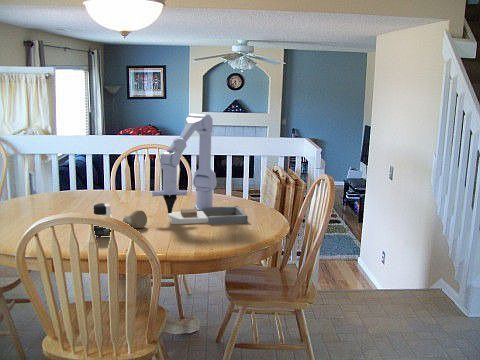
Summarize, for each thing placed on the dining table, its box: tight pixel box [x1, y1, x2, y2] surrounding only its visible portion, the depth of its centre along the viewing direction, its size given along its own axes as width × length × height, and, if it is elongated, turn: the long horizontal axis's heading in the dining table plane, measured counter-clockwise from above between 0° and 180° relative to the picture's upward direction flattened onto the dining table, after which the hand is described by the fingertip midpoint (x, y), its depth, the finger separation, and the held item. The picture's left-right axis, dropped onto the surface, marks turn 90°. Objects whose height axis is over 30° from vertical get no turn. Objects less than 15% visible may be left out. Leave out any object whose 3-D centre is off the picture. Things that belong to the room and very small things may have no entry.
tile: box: [180, 208, 198, 217], centre depth 216 cm, size 6×6×2 cm
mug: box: [122, 209, 148, 229], centre depth 203 cm, size 8×10×10 cm
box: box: [201, 205, 249, 225], centre depth 220 cm, size 17×16×3 cm
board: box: [167, 210, 208, 225], centre depth 216 cm, size 12×15×2 cm
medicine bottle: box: [93, 202, 113, 237], centre depth 191 cm, size 7×7×12 cm
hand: (169, 212), depth 214 cm, fingers closed
